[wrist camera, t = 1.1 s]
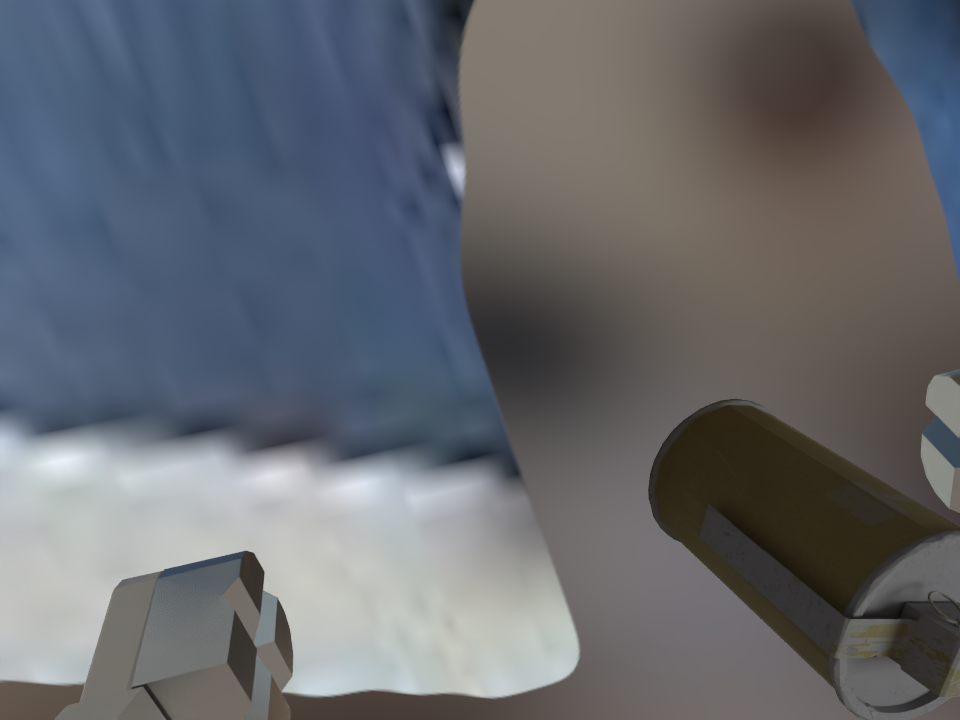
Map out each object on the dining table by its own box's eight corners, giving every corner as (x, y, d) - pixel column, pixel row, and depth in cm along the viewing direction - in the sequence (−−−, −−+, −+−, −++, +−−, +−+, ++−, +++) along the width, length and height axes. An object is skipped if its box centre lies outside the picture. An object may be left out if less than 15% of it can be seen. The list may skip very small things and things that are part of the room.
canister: (804, 404, 56) (1099, 566, 38) (758, 544, 59) (1013, 757, 41) (665, 390, 52) (921, 563, 34) (623, 541, 55) (839, 775, 37)
